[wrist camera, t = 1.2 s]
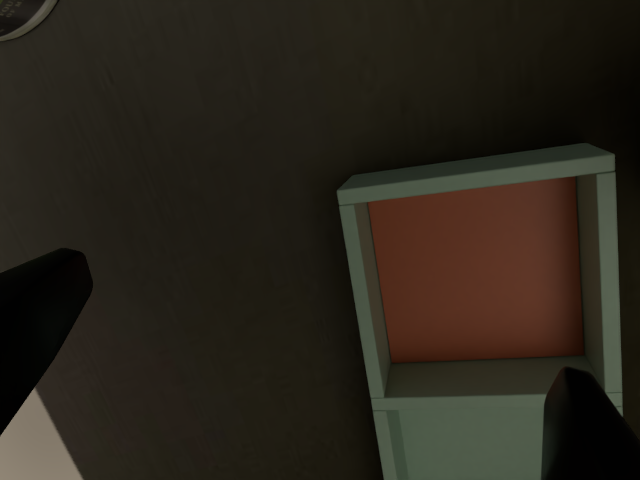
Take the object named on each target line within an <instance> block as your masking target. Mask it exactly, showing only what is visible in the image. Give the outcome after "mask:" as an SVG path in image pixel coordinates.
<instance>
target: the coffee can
mask: <svg viewBox="0 0 640 480" xmlns="http://www.w3.org/2000/svg"><path fill="white" fill-rule="evenodd" d="M57 1H58V0H0V41H6V40H10V39H14V38H17V37H20V36H22V35H24V34H26V33H27V32H29V31H30V30H32V29H33V28H35V27H36V26H37V25H38V24H40V23H41V22H42V21H43V20H44V19H45V18H46V16H47V15H48V14H49V13H50V12H51V10H52V9H53V7H54V6H55V4H56V3H57Z"/></svg>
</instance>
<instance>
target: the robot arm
mask: <svg viewBox="0 0 640 480" xmlns="http://www.w3.org/2000/svg"><path fill="white" fill-rule="evenodd" d="M92 288H93V281H92V277H91V274H90V270H89V267H88V263H87V260H86V257H85V255H84V254H83V253H82V252H80V251H76V250H72V249H68V248H60V249H57V250H55V251H52V252H50V253H48V254H45V255H43V256H40V257H38V258H36V259H33V260H31V261H28V262H26V263H24V264H21V265H19V266H16V267H14V268H12V269H9V270H7V271H4V272H2V273H0V435H1V434H2V433H3V431H4V430H5V429H6V427H7V426H8V424H9V423H10V421H11V420H12V418H13V417H14V416H15V414H16V413H17V411H18V410H19V409H20V407H21V406H22V404H23V403H24V401H25V400H26V399H27V397H28V396H29V394H30V393H31V391H32V390H33V389H34V387H35V386H36V384H37V383H38V382H39V380H40V379H41V377H42V376H43V374H44V373H45V372H46V370H47V369H48V367H49V366H50V364H51V363H52V361H53V360H54V358H55V357H56V355H57V353H58V352H59V350H60V348H61V347H62V345H63V343H64V341H65V339H66V338H67V336H68V334H69V332H70V330H71V329H72V327H73V325H74V323H75V321H76V320H77V318H78V316H79V314H80V313H81V311H82V309H83V307H84V305H85V304H86V302H87V300H88V298H89V296H90V294H91V292H92ZM541 480H640V441H639V439H638V438H637V437H636V435H635V434H634V432H633V431H632V430H631V428H630V427H629V425H628V424H627V422H626V421H625V420H624V418H623V417H622V415H621V414H620V413H619V411H618V410H617V408H616V407H615V406H614V404H613V403H612V401H611V400H610V399H609V397H608V396H607V394H606V393H605V391H604V390H603V389H602V387H601V386H600V384H599V383H598V382H597V380H596V379H595V377H594V376H593V375H592V374H591V373H590V372H588V371H586V370H582V369H577V368H573V367H569V366H565V367H563V368H562V369H561V370H560V371H559V373H558V375H557V377H556V378H555V380H554V382H553V384H552V386H551V387H550V389H549V391H548V393H547V395H546V398H545V402H544V414H543V438H542V463H541Z"/></svg>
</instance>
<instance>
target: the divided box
mask: <svg viewBox="0 0 640 480" xmlns="http://www.w3.org/2000/svg"><path fill="white" fill-rule="evenodd" d="M614 171H615V155H614V154H613V153H610V152H608V151H605V150H603V149H600V148H598V147H595V146H593V145H590V144H588V143H581V144H573V145H566V146H559V147H552V148H545V149H538V150H530V151H523V152H516V153H509V154H502V155H495V156H487V157H480V158H473V159H466V160H459V161H451V162H444V163H437V164H430V165H423V166H416V167H408V168H401V169H394V170H387V171H380V172H372V173H365V174H358V175H352V176H351V177H350V178H349V179H348V180H347V181H346V182H345V183H344V184H343V185H342V186H341V187H340V188H339V189H338V190H337V197H338V203H339V205H340V206H339V210H340V216H341V222H342V228H343V234H344V240H345V246H346V252H347V258H348V264H349V270H350V276H351V283H352V289H353V295H354V301H355V307H356V313H357V319H358V325H359V331H360V337H361V343H362V349H363V355H364V361H365V368H366V374H367V380H368V386H369V392H370V397H371V404H372V409H373V416H374V423H375V429H376V435H377V441H378V447H379V453H380V459H381V465H382V471H383V477H384V480H541V463H542V438H543V414H544V402H545V398H546V395H547V393H548V391H549V389H550V387H551V386H552V384H553V382H554V380H555V378H556V377H557V375H558V373H559V371H560V370H561V369H562V368H563V367H565V366H569V367H573V368H577V369H582V370H586V371H588V372H590V373H591V374H592V375H593V376H594V377H595V379H596V380H597V382H598V383H599V384H600V386H601V387H602V389H603V390H604V391H605V393H606V394H607V396H608V397H609V399H610V400H611V401H612V403H613V404H614V406H615V407H616V408H617V410H618V411H619V413H620V414H621V415H622V417H623V409H622V370H621V337H620V303H619V270H618V237H617V204H616V173H615V172H614Z"/></svg>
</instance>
